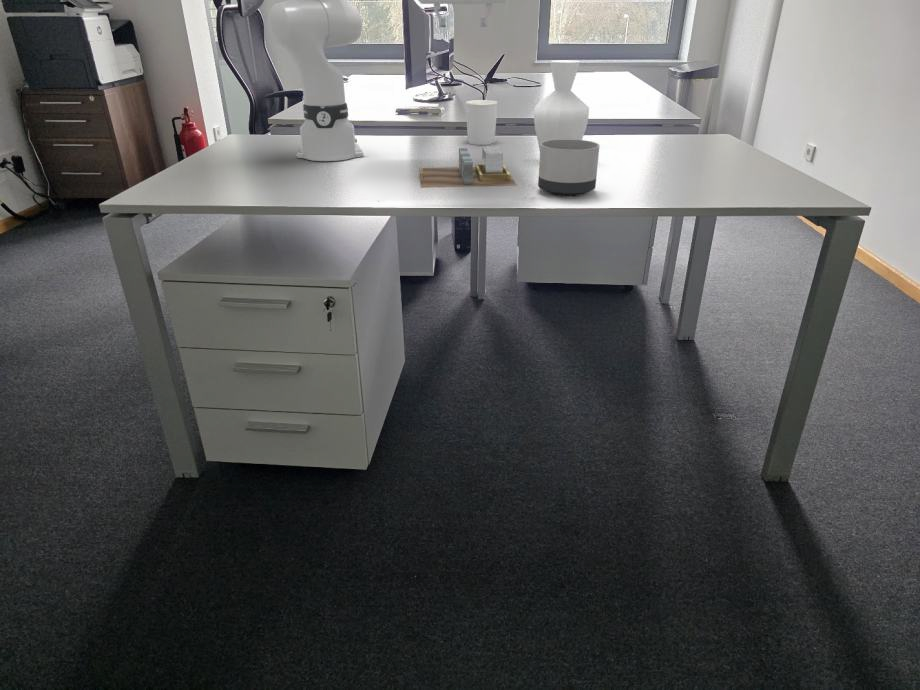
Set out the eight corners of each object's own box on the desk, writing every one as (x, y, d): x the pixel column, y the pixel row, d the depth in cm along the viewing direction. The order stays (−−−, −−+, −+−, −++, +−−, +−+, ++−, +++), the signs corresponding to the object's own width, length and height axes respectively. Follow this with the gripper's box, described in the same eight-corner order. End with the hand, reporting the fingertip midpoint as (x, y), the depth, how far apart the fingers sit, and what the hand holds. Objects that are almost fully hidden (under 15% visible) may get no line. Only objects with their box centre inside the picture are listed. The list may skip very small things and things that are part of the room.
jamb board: (419, 172, 157) (418, 147, 154) (504, 170, 158) (505, 146, 155) (420, 192, 139) (419, 164, 136) (516, 190, 140) (517, 162, 138)
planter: (556, 202, 132) (560, 152, 127) (527, 188, 142) (529, 141, 137) (606, 195, 137) (611, 147, 132) (574, 182, 147) (578, 137, 142)
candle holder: (467, 139, 198) (467, 99, 192) (498, 140, 197) (499, 100, 191) (463, 145, 189) (463, 103, 184) (495, 146, 188) (496, 104, 182)
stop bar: (485, 179, 145) (486, 153, 142) (482, 171, 152) (482, 146, 149) (502, 179, 145) (503, 153, 142) (498, 171, 152) (498, 146, 149)
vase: (534, 155, 175) (539, 59, 163) (584, 157, 173) (593, 59, 161) (529, 166, 163) (534, 63, 151) (583, 168, 160) (592, 63, 149)
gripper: (415, -46, 130) (417, 27, 136) (510, -46, 131) (508, 27, 138) (414, -44, 135) (417, 26, 142) (506, -44, 137) (504, 26, 143)
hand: (462, 27), depth 140 cm, fingers open, 8 cm apart
